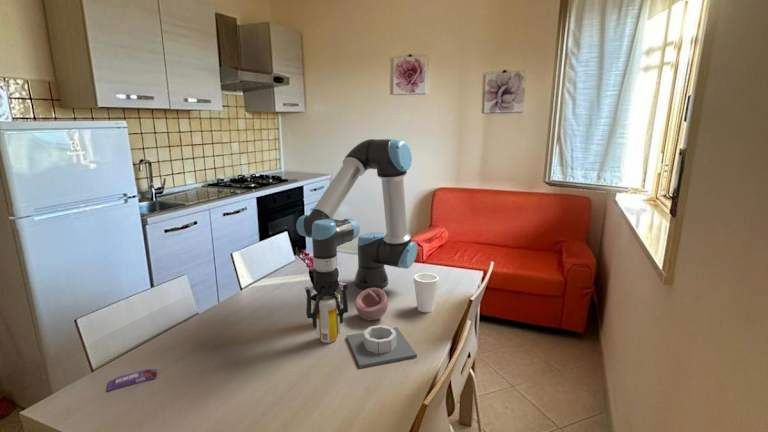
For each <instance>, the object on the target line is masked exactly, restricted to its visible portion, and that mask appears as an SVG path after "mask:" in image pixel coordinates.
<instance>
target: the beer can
mask: <svg viewBox="0 0 768 432" xmlns="http://www.w3.org/2000/svg"><path fill="white" fill-rule="evenodd" d="M337 313H338V310H337V307H336V300H335V298H334V299H333V297H332V296H326V297H323V299H322V300H320V302H319V311H318V315H317V316H318V318H319V329H320V338H318V339H319V340H320V342H321V343H323V344H331V343H333V342H335V341H336V340H337V339H338V335H339V334H338V333H337Z"/></svg>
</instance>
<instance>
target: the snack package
mask: <svg viewBox="0 0 768 432" xmlns="http://www.w3.org/2000/svg"><path fill="white" fill-rule="evenodd" d="M156 378H157V368H148V369H142V370H139V371H135V372H131V373H127V374H123V375H120V376H118V377H115V378H114V379H112V380H109V381H108V384H107V385H108V386H107V391H109V392H110V391H114V390H119V389H122V388H125V387H129V386H133V385H137V384H140V383H145V382H148V381H152V380H153V379H154V380H155V379H156Z"/></svg>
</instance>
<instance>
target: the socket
mask: <svg viewBox="0 0 768 432" xmlns="http://www.w3.org/2000/svg"><path fill="white" fill-rule="evenodd" d="M346 340H347V342H348V345H349V346H350V350H351V351H352V353H353V356H354V358H355V360H356V362H357V364H358V368H359V369H363V368H369V367H373V366H379V365H384V364H389V363H394V362H395V363H396V362H400V361H405V360H411V359H416V358H417V357H418V354H417V353H416V352H415V350H414V349H413V347H412V346H411V345H410V343H409V342H408V340H407V339H406V337H405V336H404V335H403V333H402V332H401V330H400V329H399V328H398V326H396V327H391V326H387V325H384V324H383V325H381V324H380V325H379V324H378V325H372V326H369V327H367V329H366V330H364V331H363V332H360V333H359V332H358V333H353V334H347V335H346Z"/></svg>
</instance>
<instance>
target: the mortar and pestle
mask: <svg viewBox="0 0 768 432" xmlns="http://www.w3.org/2000/svg"><path fill="white" fill-rule="evenodd" d="M354 303H355V304H354V305H355V306H354V307H355V310H356V311H357V313H358V314H359V316H360V317H361V318H363V319H365V320H369V321H375V320H379V319H381V318H382V317H383V316H384V315H385V314H386V312H387V310H388V307H389V300H388V296H387V294H386V292H385V291H384V290H382V288H381V289H379V288H368V289H363V290H362V291H361V292H360V293H359V294H358V295H357V296H356V298H355V302H354Z"/></svg>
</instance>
